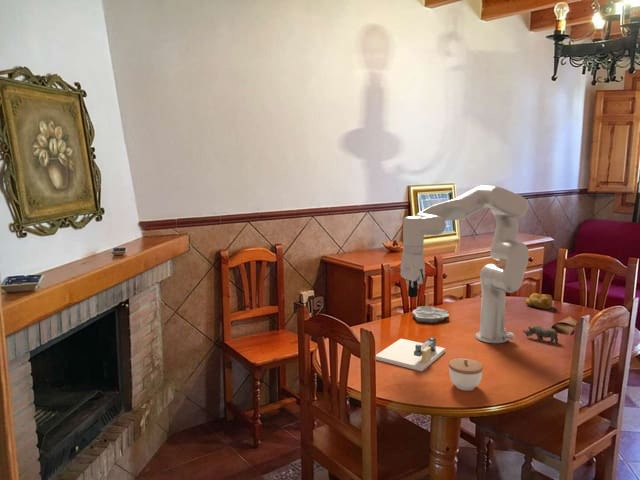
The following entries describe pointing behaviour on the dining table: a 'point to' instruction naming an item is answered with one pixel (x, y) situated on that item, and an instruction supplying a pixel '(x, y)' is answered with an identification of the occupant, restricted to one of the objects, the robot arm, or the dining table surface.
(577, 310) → the dining table surface
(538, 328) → the rhino figurine
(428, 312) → the brain slice
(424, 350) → the door board
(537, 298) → the bread roll
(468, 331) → the dining table surface
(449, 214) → the robot arm
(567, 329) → the sunglasses case
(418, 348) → the bar
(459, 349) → the dining table surface
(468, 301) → the dining table surface
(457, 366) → the lidded jar
